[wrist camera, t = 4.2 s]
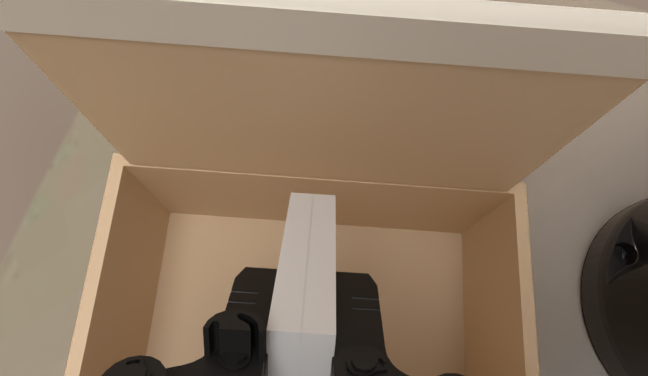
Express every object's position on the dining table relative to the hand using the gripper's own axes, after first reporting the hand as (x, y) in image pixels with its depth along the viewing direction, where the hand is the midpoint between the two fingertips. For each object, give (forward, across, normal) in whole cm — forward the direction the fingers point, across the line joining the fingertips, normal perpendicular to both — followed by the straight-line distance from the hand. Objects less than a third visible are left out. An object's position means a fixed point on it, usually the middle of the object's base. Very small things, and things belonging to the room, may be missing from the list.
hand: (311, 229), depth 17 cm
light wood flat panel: (+7, 0, -1) cm, 7 cm away
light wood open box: (+9, 0, -12) cm, 15 cm away
